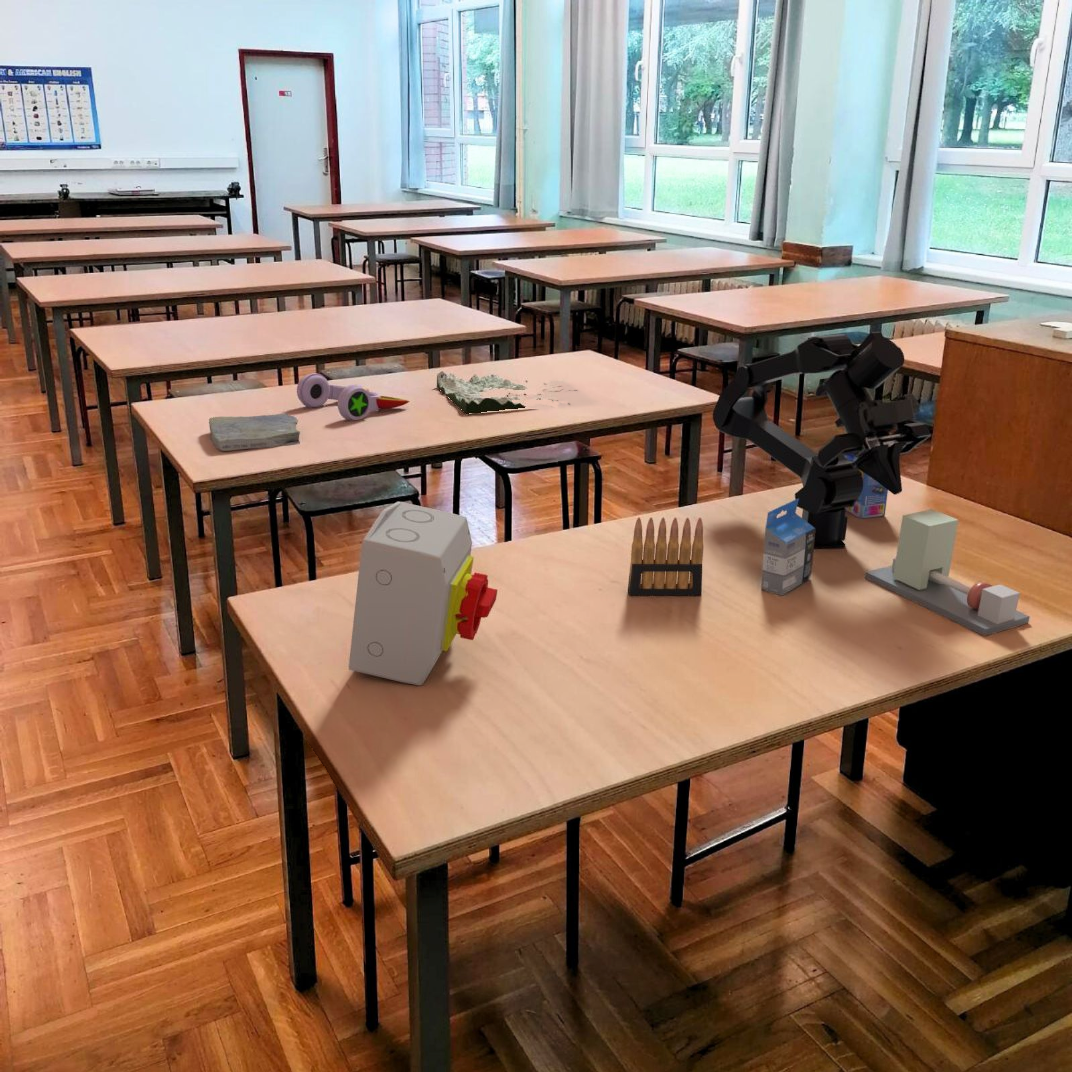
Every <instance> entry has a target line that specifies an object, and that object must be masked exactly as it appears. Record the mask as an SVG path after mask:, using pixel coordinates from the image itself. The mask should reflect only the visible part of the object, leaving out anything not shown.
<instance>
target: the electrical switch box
mask: <svg viewBox="0 0 1072 1072" xmlns="http://www.w3.org/2000/svg"><path fill="white" fill-rule="evenodd" d="M468 522H469V521H468V518H467V517H466V516H463V515H460V514H456V513H454V512H453V513H452V512H448V511H444V510H439V509H434V508H430V507H425V506H421V505H416V504H411V503H408V502H402V501H396V502H395V503H393V504H391V505H390V506H387V507H385V508H384V509H382V511H381V512H380V514H379V515H378V517H377V518H376V520H375V522H373V524H372V525H371V527H370V529H369V530H368V532H367V533H366V535H365V536H364V538H363V540H362V542H361V547H360V556H359V566H358V575H357V577H358V578H357V584H356V586H357V587H356V595H355V604H354V614H353V624H352V631H351V634H352V635H351V642H350V649H349V650H350V652H349V658H348V660H349V662H348V670H349V671H354V672H358V673H362V674H364V675H365V674H366V675H370V676H373V677H374V676H375V677H378V678H382V679H387V680H392V681H395V682H400V683H405V684H410V685H416V686H422V685H423V684H424V683H425V681H426V680H427V678H428V676H429V674H430V673H431V671H432V669H433V668H434V666H435V665H436V663H437V661H438V659H439V657H440V656H441V654H442V652H443V651H444V652H448V650H449V648H450V646H451V644H452V642H453V641H454V639H455V637H456V636H457V635H459V637H460V638H461V639H465V640H468V641H473V640H474V639H475V636H476V634H478V630H479V627H480V625H481V620H482V618H483V619H484V618H488V617H489V615H490V613H491V611H492V609H493V607H494V605H495V602H496V600H497V595H498V589H497V588H493V587H489V579H488V577H489V576H488V574H485V573H480V572H474V573H473V574H472V570H473V565H474V556H471V553H472V547H473V541H472V540H473V539H472V536H471V532H470V528H469V527H470V526H469V523H468Z"/></svg>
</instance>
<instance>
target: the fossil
mask: <svg viewBox="0 0 1072 1072" xmlns="http://www.w3.org/2000/svg"><path fill="white" fill-rule="evenodd" d="M298 422H299V420H298V418H297V417H295V416H294V415H291V414H288V413H284V412H283V413H278V414H277V413H276V414H265V415H254V416H214V417H210V418H209V420H208V425H209V431H210V432H209V433H210V438H209V439H210V441H211V442H212V443H213V444H214V446H215V447H216V448H217V449H218V450H219V451H221V452H226V451H227V452H228V451H229V452H230V451H239V450H249V449H250V450H252V449H264V448H278V447H286V446H292V445H293V446H294V445H300V443H301V441H300V434H301V431H300V430H297V425H298Z"/></svg>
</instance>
